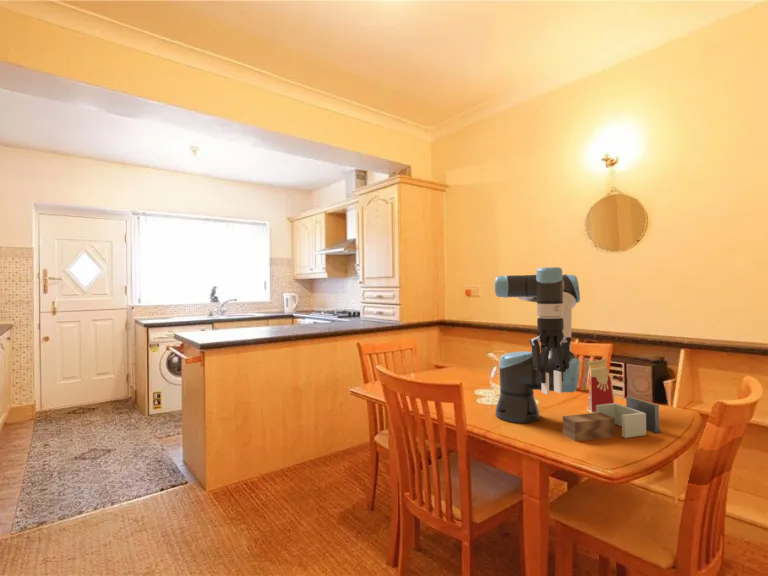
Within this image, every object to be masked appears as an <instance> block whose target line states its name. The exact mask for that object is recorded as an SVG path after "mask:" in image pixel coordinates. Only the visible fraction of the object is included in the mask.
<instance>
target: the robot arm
mask: <svg viewBox="0 0 768 576" xmlns="http://www.w3.org/2000/svg"><path fill="white" fill-rule="evenodd" d="M494 293H495V295H496V297H498V298H517V299H519V300H521V301H525V302H531V303H536V315H537V319H536V321H537V323H536V325H537V332H538V333H537V336H536V337H534V338H530V339H529V343H530V345H531V351H512V352H509V353H507V352H506V353H504V354H502V355H501V356H500V358H499V366H498V369H499V390H500V391H499V393H500V394H499V397H498V401H497V403H496V406H495V417H497V418H498V419H500V420H503V421H505V422H510V423H517V424H518V423H519V424H525V423H533V422H537V421H538V420H540V411H539V407H538V405H537V402H536V398H535V395H534V392H535V391H534V390H537V391H541V393H542V394H544V395H550V392H555V393H557V394H563V393H574V392H576V391H577V390H578V385H579V380H580V371H581V363H580V362H581V361H580V359H578V358H576V354H575V353H574V352H573V351H572V317H573V316H572V314H573V313H572V311H573V310H572V309H574V308H575V307H576V304H577V303H580V301H581V296H580V295H581V294H580V285H579V280H578V277H577V275H575V274H566V273H564V274H563V269H562V268H561V267H559V266H556V267H555V266H552V267H551V266H550V267H538V268H537V269H536V274H525V275H523V274H521V275H519V274H517V275H514V274H513V275H499V276H496V277H495V280H494Z"/></svg>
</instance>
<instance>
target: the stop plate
mask: <svg viewBox="0 0 768 576" xmlns="http://www.w3.org/2000/svg"><path fill="white" fill-rule="evenodd" d="M625 399H626V403H625V406H626V407H629V408H632V409H635V410H638V411H641V412H643V413H646V432H647V431H648V432H650V433H652V434H655V435H656V434H663V433H662V429H661V428H660V405H659V404H657V403H654V402H650V401H647V400H644V399H641V398H638V397H635V396H631V395H626V398H625Z"/></svg>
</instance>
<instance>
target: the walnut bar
mask: <svg viewBox="0 0 768 576" xmlns="http://www.w3.org/2000/svg"><path fill="white" fill-rule="evenodd" d="M562 435H563V436H566V437H567V438H569V439H570V440H572V441H573V442H579V441H581V442H582V441H590V440H597V439H598V440H599V439H610V438H615V437H616V424H615V418H613V417H610V416H608V415H605V414H603V413H582V414H571V415H563V416H562Z"/></svg>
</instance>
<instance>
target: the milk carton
mask: <svg viewBox="0 0 768 576" xmlns="http://www.w3.org/2000/svg"><path fill="white" fill-rule="evenodd" d="M607 361H608V358H602V359H598V360H592V361H586V363H587V365H588V367H589V369H590V370H589V379H588V380H589V381H588V394H587V395H588V396H587V398H588V399H587V408H586V410H587V412H589V414H592V413H596V405H601V404H610V403H615V395H614V387H613V381H612V379H611V376H610V373H609V369H608V367H607V366H608V362H607Z"/></svg>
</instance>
